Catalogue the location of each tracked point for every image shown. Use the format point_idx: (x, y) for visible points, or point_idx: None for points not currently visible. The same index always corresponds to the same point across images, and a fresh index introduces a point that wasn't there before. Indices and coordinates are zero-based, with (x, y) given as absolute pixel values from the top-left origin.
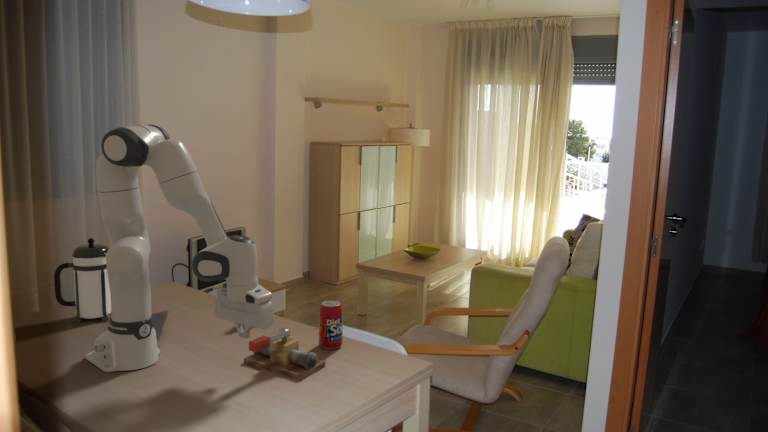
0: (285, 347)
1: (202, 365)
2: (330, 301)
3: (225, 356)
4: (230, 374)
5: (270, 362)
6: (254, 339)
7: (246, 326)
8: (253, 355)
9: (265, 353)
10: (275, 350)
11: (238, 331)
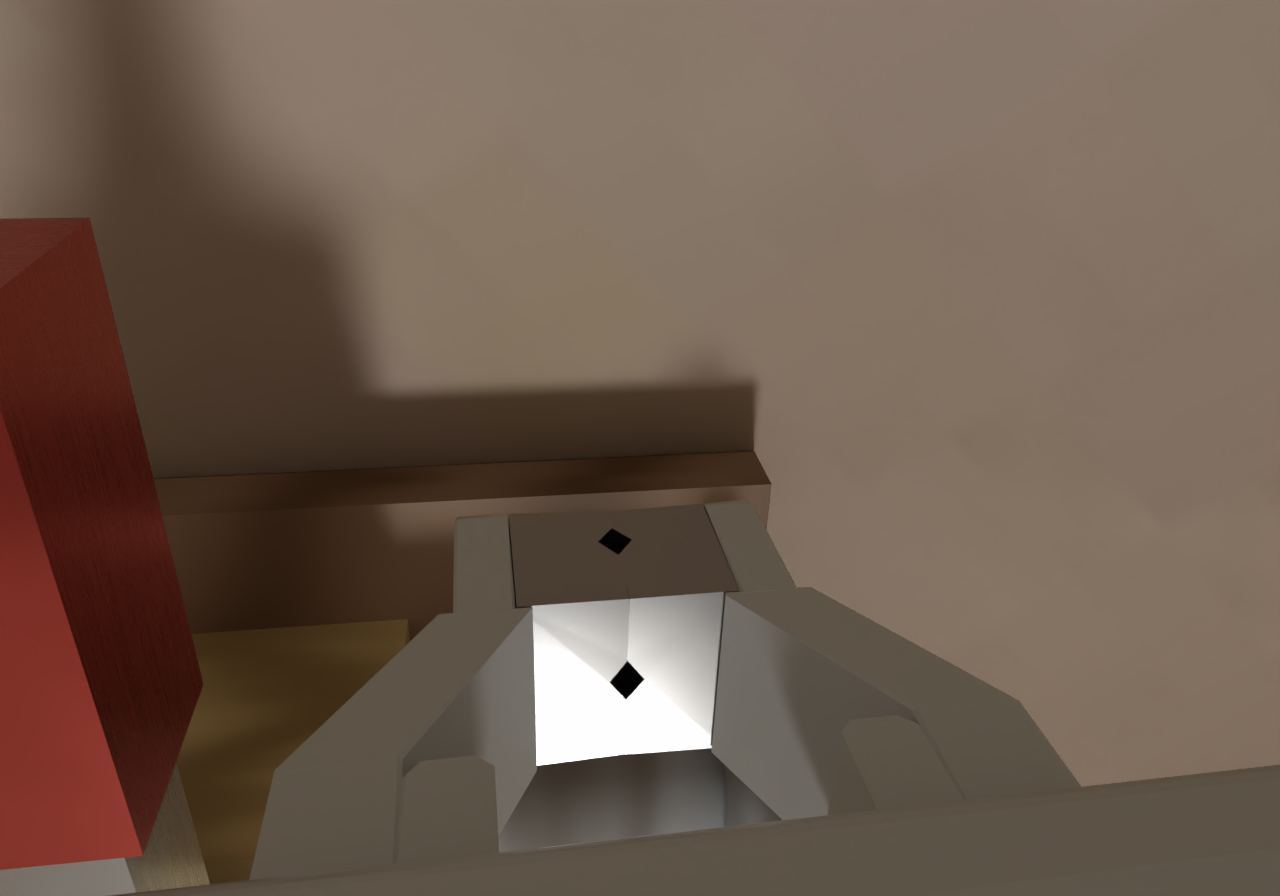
0: None
1: (1211, 73)
2: None
3: (1076, 451)
4: (656, 73)
5: (366, 590)
6: (40, 558)
7: (331, 829)
8: None
9: None
10: (281, 757)
11: (777, 586)
